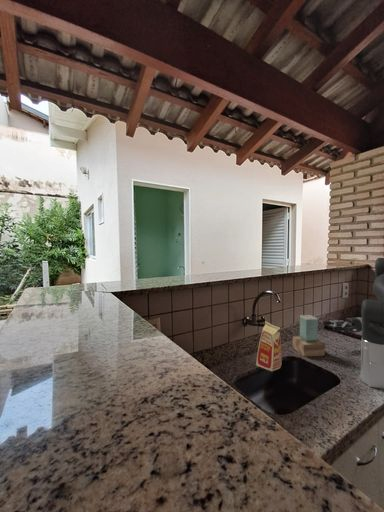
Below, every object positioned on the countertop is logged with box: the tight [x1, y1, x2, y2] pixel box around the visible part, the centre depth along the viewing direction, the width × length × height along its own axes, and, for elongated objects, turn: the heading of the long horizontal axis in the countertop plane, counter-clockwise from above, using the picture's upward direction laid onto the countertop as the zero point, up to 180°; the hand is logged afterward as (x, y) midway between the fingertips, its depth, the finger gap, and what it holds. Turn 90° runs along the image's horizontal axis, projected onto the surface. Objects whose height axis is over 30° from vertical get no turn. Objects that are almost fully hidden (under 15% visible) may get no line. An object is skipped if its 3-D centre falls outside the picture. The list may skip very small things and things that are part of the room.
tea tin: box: [299, 314, 319, 342], centre depth 123 cm, size 6×6×12 cm
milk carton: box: [255, 321, 283, 372], centre depth 109 cm, size 9×9×20 cm
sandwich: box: [292, 335, 326, 357], centre depth 123 cm, size 11×11×6 cm
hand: (328, 326), depth 124 cm, fingers open, 8 cm apart
